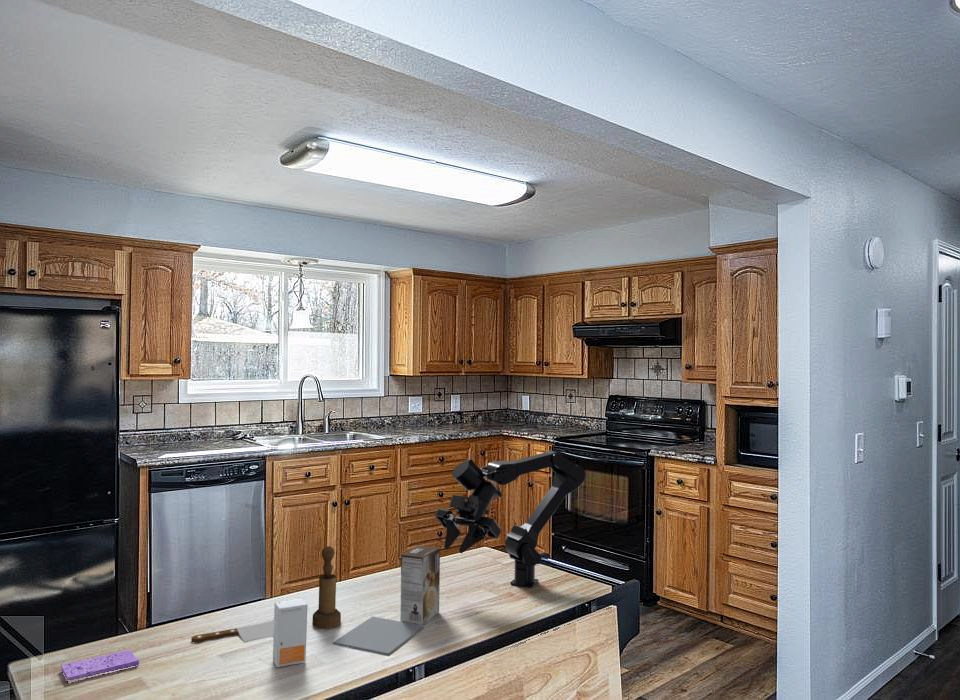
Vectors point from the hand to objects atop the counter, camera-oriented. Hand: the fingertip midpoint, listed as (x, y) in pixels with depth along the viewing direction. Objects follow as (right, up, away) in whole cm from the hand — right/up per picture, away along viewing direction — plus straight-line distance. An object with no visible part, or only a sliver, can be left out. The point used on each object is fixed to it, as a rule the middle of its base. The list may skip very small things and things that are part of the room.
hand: (452, 550), depth 175 cm
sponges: (-69, -12, -40) cm, 80 cm away
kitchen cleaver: (-45, -13, -21) cm, 51 cm away
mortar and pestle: (-29, -13, -15) cm, 35 cm away
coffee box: (-8, -14, -10) cm, 18 cm away
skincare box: (-32, -13, -35) cm, 49 cm away
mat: (-16, -13, -21) cm, 29 cm away
